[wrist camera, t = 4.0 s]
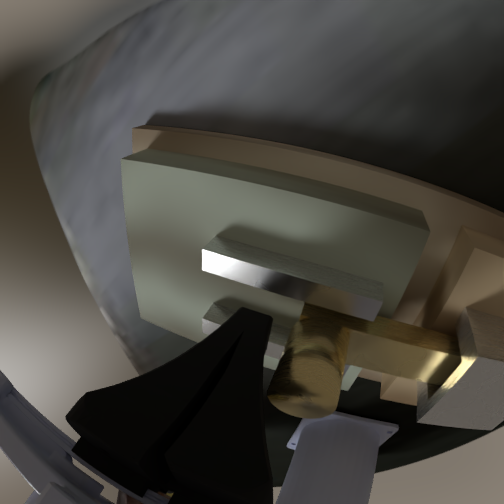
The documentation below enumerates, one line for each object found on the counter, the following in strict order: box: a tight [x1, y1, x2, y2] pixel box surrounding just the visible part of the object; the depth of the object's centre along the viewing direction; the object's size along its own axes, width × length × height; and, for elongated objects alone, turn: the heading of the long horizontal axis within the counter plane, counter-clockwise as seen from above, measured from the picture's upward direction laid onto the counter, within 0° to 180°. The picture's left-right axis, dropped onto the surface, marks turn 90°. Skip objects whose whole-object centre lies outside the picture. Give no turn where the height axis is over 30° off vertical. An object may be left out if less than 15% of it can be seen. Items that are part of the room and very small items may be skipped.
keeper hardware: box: [202, 236, 504, 430], centre depth 11 cm, size 5×17×3 cm, turn 84°
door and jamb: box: [121, 125, 504, 406], centre depth 13 cm, size 12×26×3 cm, turn 84°
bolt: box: [267, 302, 462, 419], centre depth 10 cm, size 2×8×4 cm, turn 84°
